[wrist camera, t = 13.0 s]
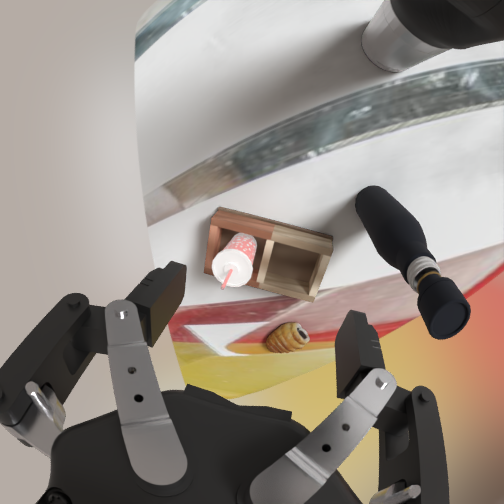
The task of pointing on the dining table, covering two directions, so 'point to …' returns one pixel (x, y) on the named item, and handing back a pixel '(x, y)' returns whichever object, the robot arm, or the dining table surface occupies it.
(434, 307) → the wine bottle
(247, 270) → the beverage cup
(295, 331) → the pastry
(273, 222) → the cup holder
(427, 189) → the dining table surface
